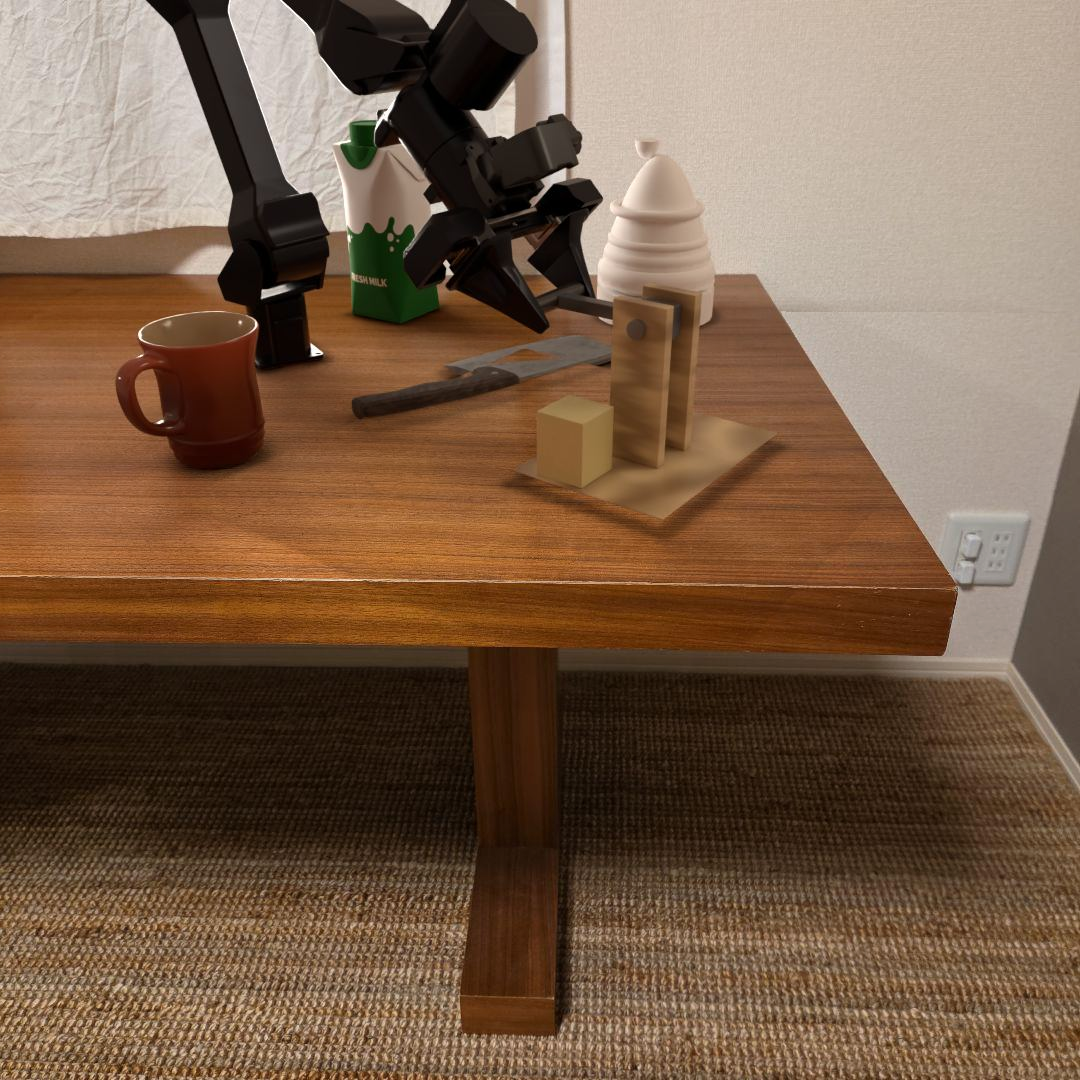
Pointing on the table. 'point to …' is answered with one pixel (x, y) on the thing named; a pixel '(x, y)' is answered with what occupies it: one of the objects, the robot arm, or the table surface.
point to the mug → (200, 387)
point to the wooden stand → (660, 411)
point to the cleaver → (485, 375)
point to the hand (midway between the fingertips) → (569, 320)
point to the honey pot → (657, 235)
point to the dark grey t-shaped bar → (593, 304)
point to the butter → (574, 440)
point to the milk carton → (382, 224)
